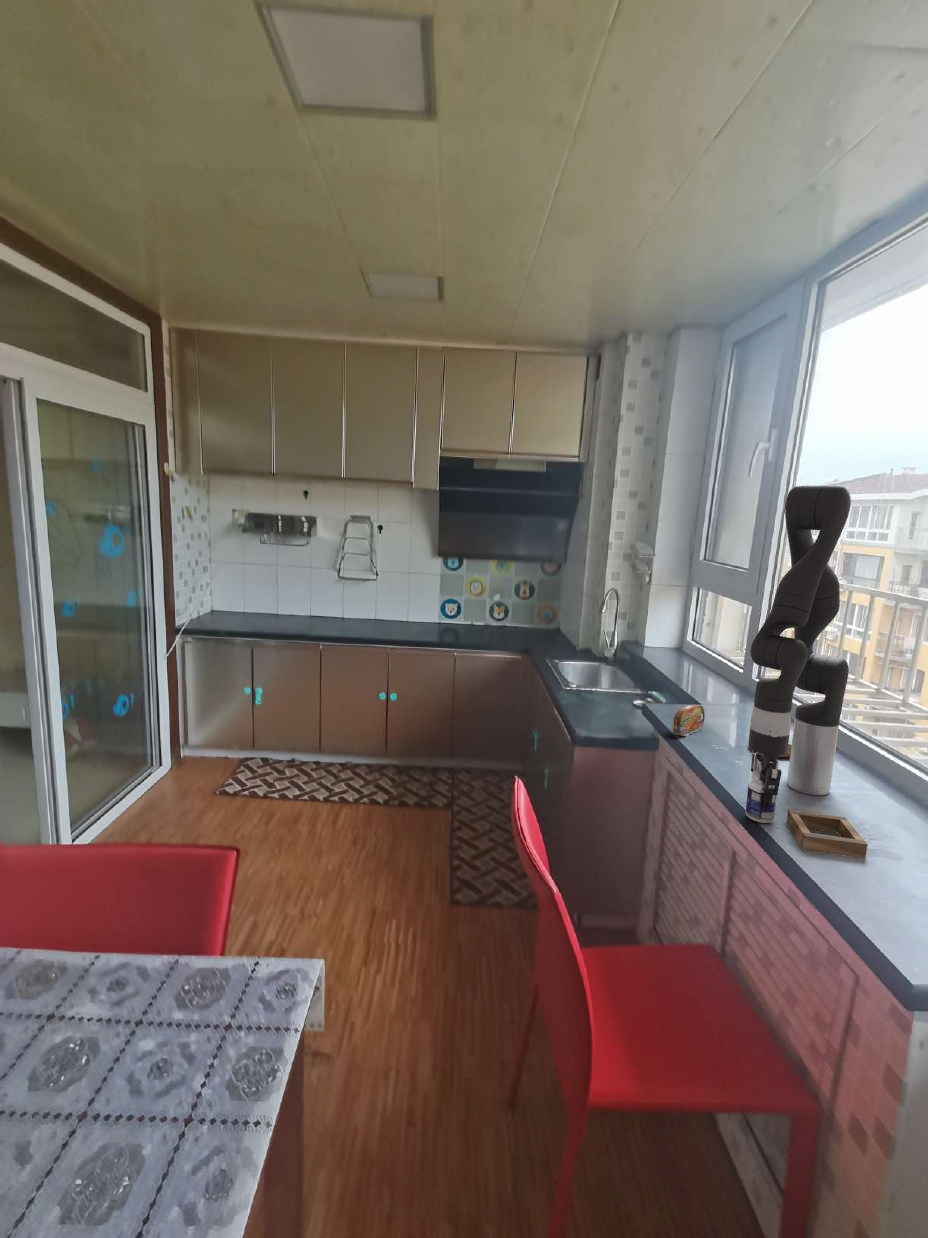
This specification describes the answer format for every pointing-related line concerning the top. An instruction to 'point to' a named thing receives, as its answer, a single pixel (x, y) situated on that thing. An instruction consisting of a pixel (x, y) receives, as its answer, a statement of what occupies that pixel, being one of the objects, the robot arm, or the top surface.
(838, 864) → the top surface
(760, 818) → the pill bottle
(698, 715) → the tin
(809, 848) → the socket block
